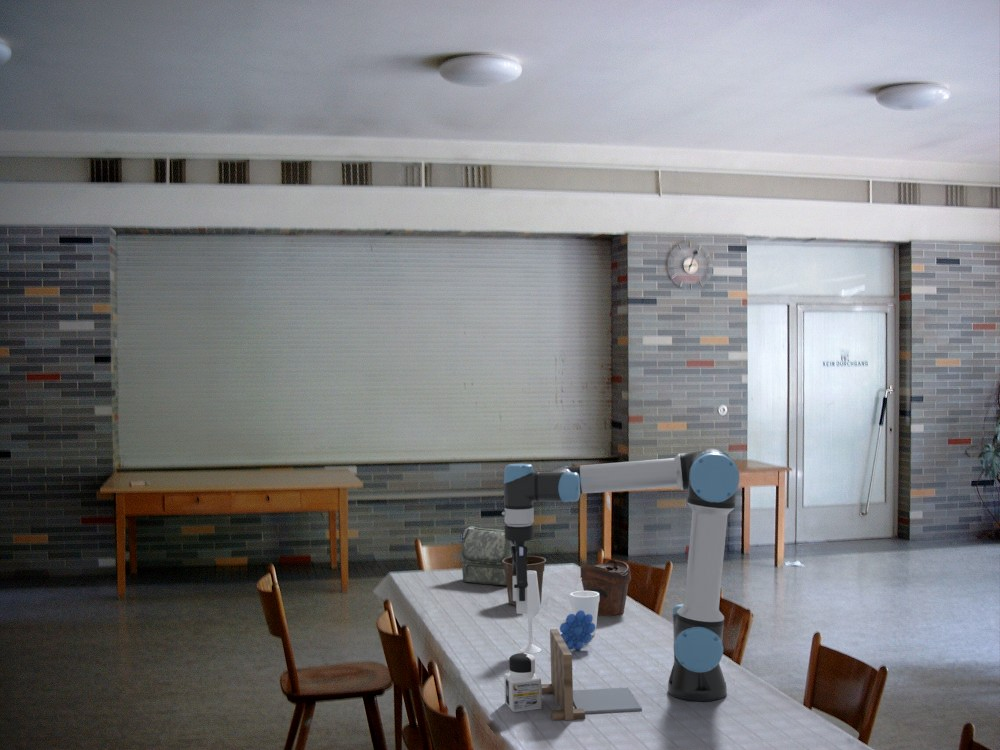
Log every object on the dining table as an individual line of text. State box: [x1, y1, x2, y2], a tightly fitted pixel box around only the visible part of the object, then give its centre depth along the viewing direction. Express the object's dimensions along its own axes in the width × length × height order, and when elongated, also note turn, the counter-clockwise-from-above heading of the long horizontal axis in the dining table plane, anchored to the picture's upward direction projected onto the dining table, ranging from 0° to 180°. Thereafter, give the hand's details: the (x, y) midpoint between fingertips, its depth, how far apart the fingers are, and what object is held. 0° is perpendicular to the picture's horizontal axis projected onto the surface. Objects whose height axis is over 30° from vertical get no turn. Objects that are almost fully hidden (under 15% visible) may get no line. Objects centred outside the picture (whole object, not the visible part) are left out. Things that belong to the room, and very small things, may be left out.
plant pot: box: [502, 555, 547, 607], centre depth 360 cm, size 16×16×16 cm
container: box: [503, 652, 543, 713], centre depth 249 cm, size 8×8×13 cm
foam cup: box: [569, 590, 600, 637], centre depth 316 cm, size 10×9×13 cm
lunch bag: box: [458, 525, 513, 587], centre depth 400 cm, size 26×18×22 cm
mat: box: [573, 687, 643, 714], centre depth 251 cm, size 16×16×1 cm
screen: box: [541, 628, 586, 721], centre depth 250 cm, size 24×8×16 cm, turn 5°
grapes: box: [559, 611, 597, 651], centre depth 299 cm, size 12×7×12 cm, turn 103°
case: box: [579, 559, 632, 617], centre depth 345 cm, size 18×20×18 cm
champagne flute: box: [519, 570, 542, 654], centre depth 299 cm, size 7×7×24 cm
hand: (519, 606), depth 251 cm, fingers open, 13 cm apart
